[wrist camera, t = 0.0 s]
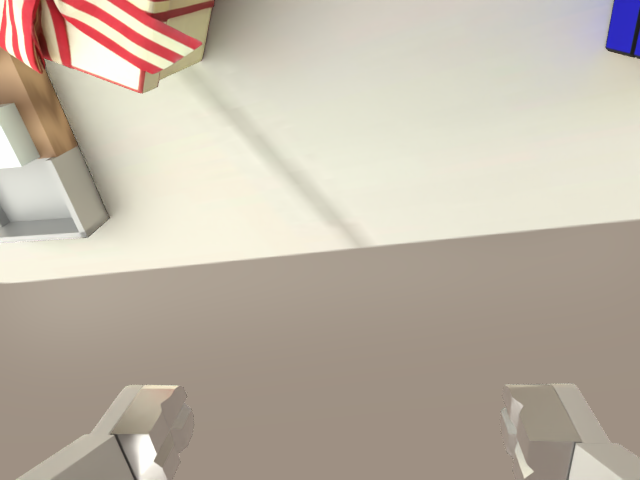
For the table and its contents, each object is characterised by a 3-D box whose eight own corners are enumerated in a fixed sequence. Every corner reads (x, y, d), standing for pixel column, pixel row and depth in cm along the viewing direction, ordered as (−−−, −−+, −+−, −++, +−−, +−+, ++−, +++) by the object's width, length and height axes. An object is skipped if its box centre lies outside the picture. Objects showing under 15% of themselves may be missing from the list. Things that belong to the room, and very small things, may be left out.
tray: (-29, 156, 53) (-64, 171, 48) (78, 145, 50) (51, 160, 46) (11, 225, 58) (-18, 244, 53) (109, 218, 55) (87, 237, 51)
